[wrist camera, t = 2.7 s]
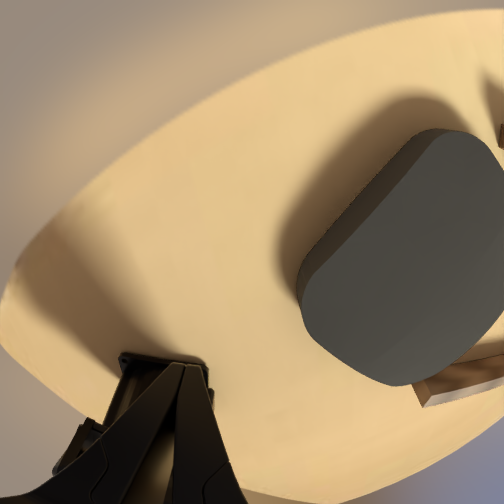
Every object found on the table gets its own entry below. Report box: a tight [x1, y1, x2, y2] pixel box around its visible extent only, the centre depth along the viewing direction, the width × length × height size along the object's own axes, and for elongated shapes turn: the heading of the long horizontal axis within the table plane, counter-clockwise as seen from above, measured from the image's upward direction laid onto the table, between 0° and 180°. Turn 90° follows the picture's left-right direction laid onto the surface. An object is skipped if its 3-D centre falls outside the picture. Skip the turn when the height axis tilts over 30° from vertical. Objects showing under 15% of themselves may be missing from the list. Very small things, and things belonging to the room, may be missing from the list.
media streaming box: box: [297, 129, 504, 386], centre depth 15 cm, size 15×15×3 cm
